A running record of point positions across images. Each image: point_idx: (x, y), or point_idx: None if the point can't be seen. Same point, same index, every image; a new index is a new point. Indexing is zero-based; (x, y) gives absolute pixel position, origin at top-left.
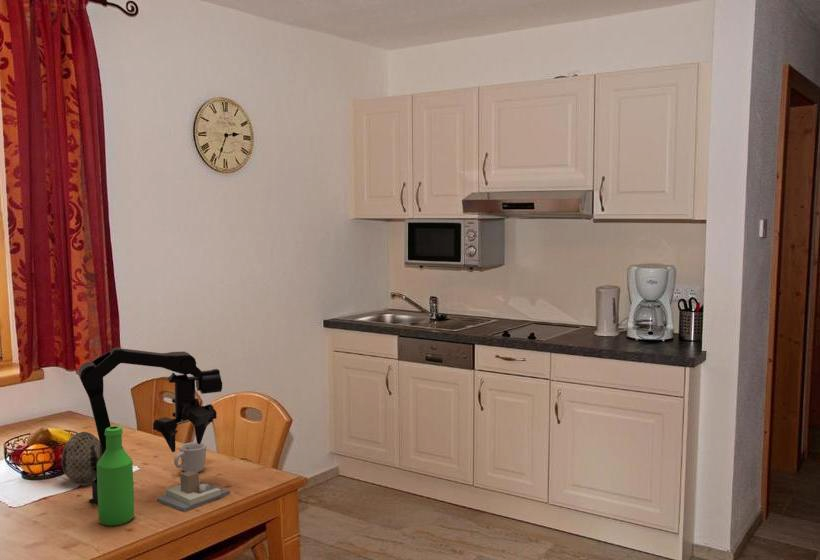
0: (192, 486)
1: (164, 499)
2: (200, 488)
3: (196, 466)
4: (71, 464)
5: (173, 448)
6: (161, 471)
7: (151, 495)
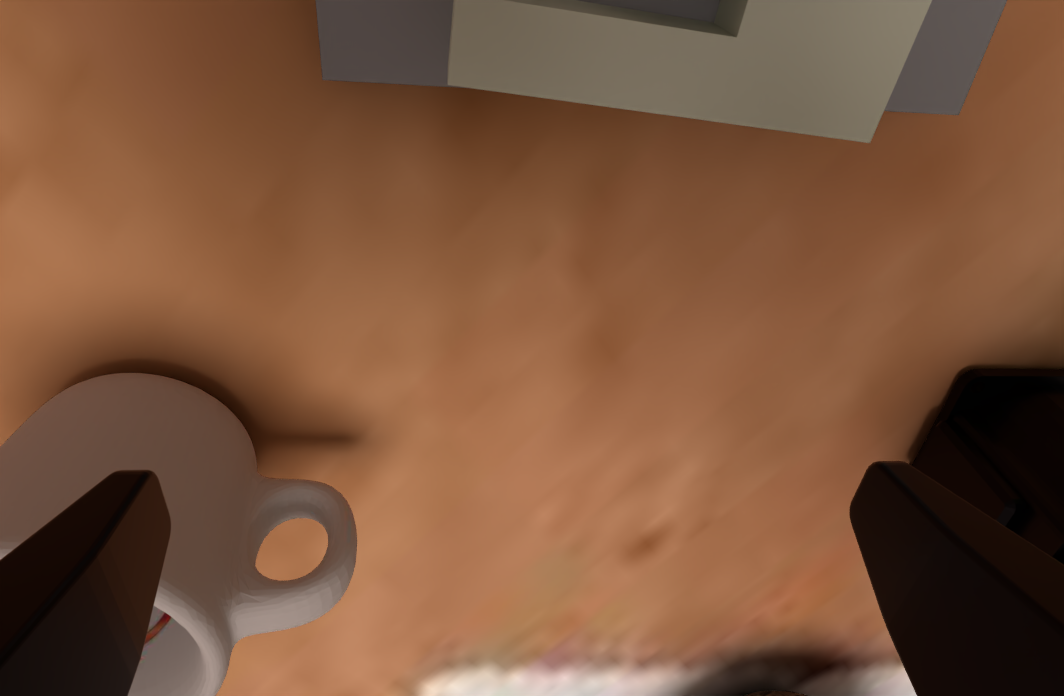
0: None
1: (972, 11)
2: None
3: (159, 410)
4: None
5: (990, 518)
6: (368, 576)
7: (805, 272)
